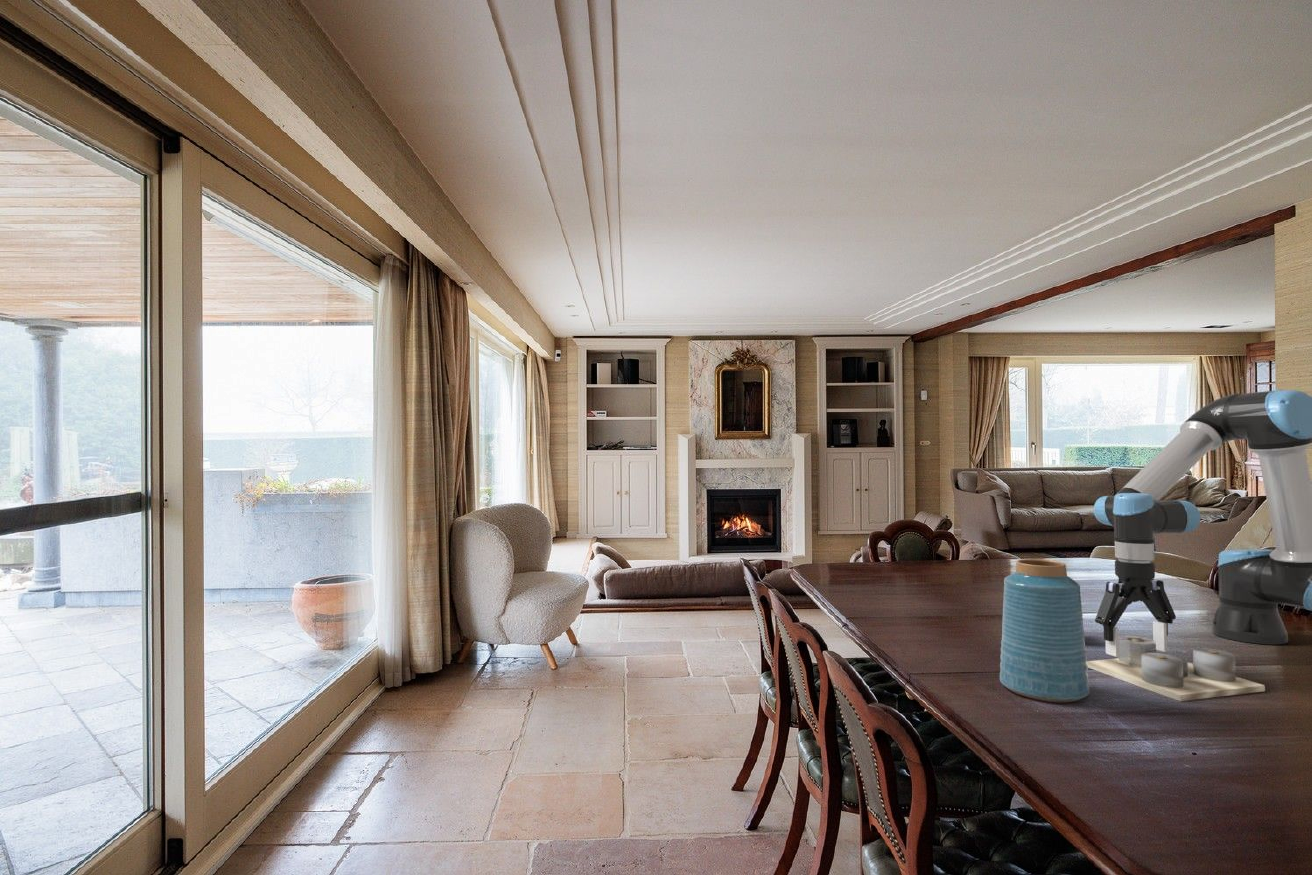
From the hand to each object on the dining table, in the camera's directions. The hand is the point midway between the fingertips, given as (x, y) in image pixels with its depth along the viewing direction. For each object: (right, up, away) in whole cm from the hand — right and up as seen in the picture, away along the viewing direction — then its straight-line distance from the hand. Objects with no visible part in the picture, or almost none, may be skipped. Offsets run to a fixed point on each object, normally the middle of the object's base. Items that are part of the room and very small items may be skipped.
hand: (1136, 652), depth 155 cm
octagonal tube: (0, -2, 0) cm, 2 cm away
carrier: (+2, -3, -8) cm, 9 cm away
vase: (-30, -3, -14) cm, 33 cm away
